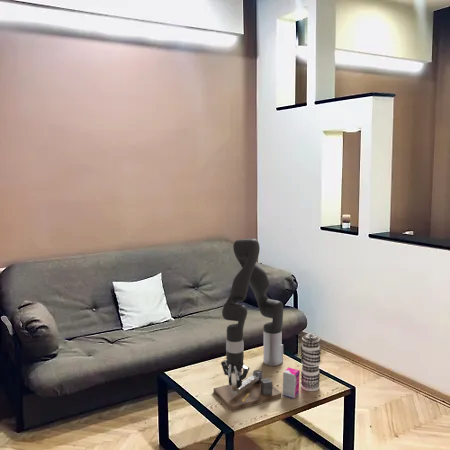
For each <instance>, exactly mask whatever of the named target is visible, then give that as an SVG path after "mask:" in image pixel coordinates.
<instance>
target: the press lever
mask: <svg viewBox="0 0 450 450" xmlns="http://www.w3.org/2000/svg"><path fill="white" fill-rule="evenodd" d="M263 374H264V373H263V371H262V370H260V369H255V370H253V372H252V374H251V375H250V376H249V377H246V378H245V379H243V380H242V381H243V382H242V386H241V387H240V388H237V376H236V374H235V372H234V371H232V372H231V389H232V393H233V394H236V395H238V394H240V393H241V392H242V391H244V390H245V389H247V388H248V387H250V386H251V385H252V384H254V383H261V379H263V378H264V375H263Z"/></svg>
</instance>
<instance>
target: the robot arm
mask: <svg viewBox="0 0 450 450" xmlns="http://www.w3.org/2000/svg"><path fill="white" fill-rule="evenodd" d="M232 248H233V254H234V256H235V258H236V260H237V261H238V263H239V264H240V266H241V270H239V272H238V273H237V274H236V276H235V277H234V279H233V281H232V284H231V289H230V293H229V295H228V297H227V299H226V302H225V303H224V305H223V307H222V310H221V315H222V318H223V319H224V320H226V321H232V322H237V323H232V324H229V325H228V326H226V343H225V344H226V345H225V349H226V350H225V351H226V353H225V357H226V359H224V360H222V361H221V362H220V364H221V367H222V371H223V374H224V376H227V377H228V385H231V372H232V371H234V372H235V374H236V376H237V388H240V387H241V386H242V381H244V380H246V379H247V376H248V374H249V371H250V367H249V366H246V365H245V364H244V357H245V355H244V354H245V353H244V352H245V351H244V349H245V348H244V346H245V345H244V328H245V327H244V326H245V322H246V319H247V316H248V309H247V306H245V305H244V304H237V303H240V302H244V301H246V299H247V296H248V295H247V294H248V290H249V285H250V288H251V290H252V292H253V295H254V297H255V299H256V302H257V303H256V304H257V307H258V310H259V312H260V314H261V315H262V316H263V317H265V318H269V319H272V320H271V321H269V322H266V323H264V324H263V364H264V365H266V366H270V367H276V366H279V365H281V364H282V363H283V364H284V344H282V339H283V338H282V337H283V336H282V334H283V333H282V329H283V322H284V303H283V302H282V301H280V300H275V299H271V298H269V297H268V295H267V292H268V290H269V288H270V280H269V277H268V275H267V273H266V271H265V269H263V268H262V267H261V266H260V265H258V263H257V262H258V259H259V255H260V242H259V241H258V240H257V239H256V238H241V239H236V240H235V241H234V243H233V247H232Z"/></svg>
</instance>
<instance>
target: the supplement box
mask: <svg viewBox="0 0 450 450" xmlns="http://www.w3.org/2000/svg"><path fill="white" fill-rule="evenodd" d="M300 371H301V370H300V369H295V368H292V367H287V368H286V369H285V370H284V371H282V396H283V397H285V398H289V399H295V398H296V397H297V396H298V395H299V394H300V376H301V375H300V373H301V372H300Z"/></svg>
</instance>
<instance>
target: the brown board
mask: <svg viewBox="0 0 450 450" xmlns="http://www.w3.org/2000/svg"><path fill="white" fill-rule="evenodd" d="M243 381H244V380H242V382H243ZM213 393H214V395H215V396H216V397H217V398H218V399H219V400H220V401H221V402H222V403H223V404H224V405H225V406H226V407H227V408H228V409H229V411H230V412H234V411H237V410H241V409H245V408H249V407H252V406H255V405H260V404H262V403H266V402H270V401H273V400H277V399H280V398H282V395H283V392H281V391H280V390H278V389H277V388H276V387H275V386H274V385H273V381H272V380H271V378H270V377H265V378H264V377H263V379H261V383H254V384H252V385H251V386H250V387H248V388H247V389H245V390H244V391H242V392H241V393H240V394H238V395H236V394H233V393H232V389H231V385H229V384H225V385H222V386H218V387H214V388H213Z"/></svg>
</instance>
